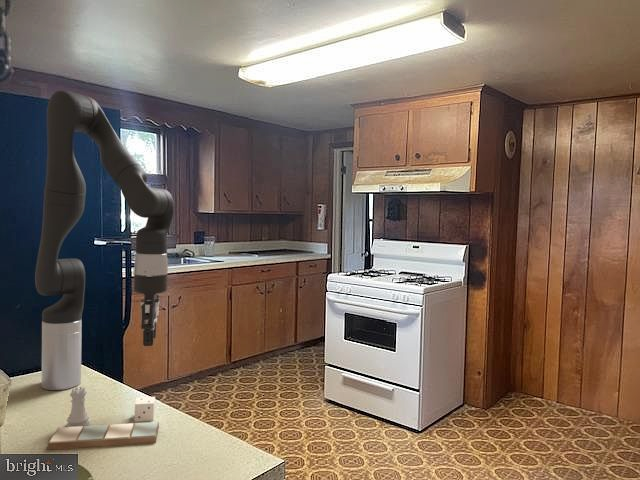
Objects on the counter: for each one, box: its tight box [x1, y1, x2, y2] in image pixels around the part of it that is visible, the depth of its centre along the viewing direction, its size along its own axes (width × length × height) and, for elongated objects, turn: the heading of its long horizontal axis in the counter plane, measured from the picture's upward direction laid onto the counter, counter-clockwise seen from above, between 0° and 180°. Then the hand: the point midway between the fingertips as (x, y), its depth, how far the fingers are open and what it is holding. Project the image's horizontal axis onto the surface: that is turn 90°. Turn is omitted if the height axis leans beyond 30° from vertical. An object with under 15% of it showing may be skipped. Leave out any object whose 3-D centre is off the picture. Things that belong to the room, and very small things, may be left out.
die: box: [134, 396, 156, 422], centre depth 112 cm, size 4×4×4 cm
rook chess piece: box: [65, 386, 90, 427], centre depth 106 cm, size 4×4×8 cm
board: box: [47, 421, 160, 450], centre depth 101 cm, size 7×20×1 cm, turn 103°
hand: (149, 341), depth 118 cm, fingers open, 5 cm apart
